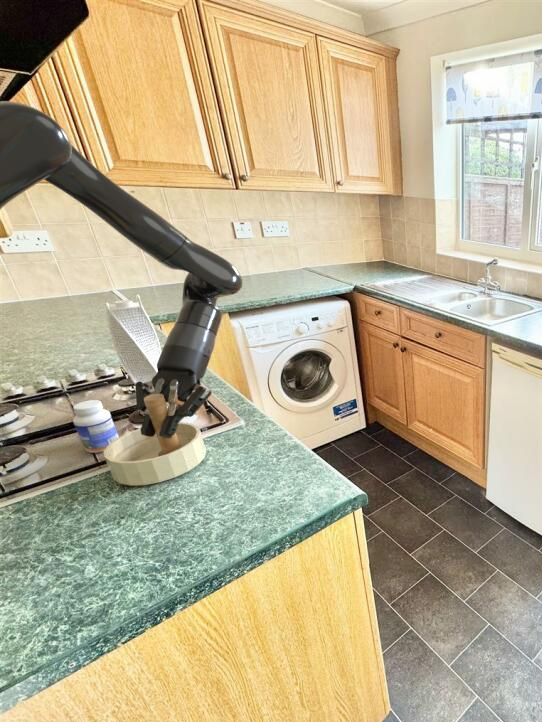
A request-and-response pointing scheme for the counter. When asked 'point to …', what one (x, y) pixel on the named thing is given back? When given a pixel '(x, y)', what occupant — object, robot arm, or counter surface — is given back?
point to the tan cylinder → (161, 422)
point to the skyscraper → (134, 339)
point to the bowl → (153, 456)
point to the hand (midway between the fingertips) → (156, 436)
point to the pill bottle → (94, 426)
